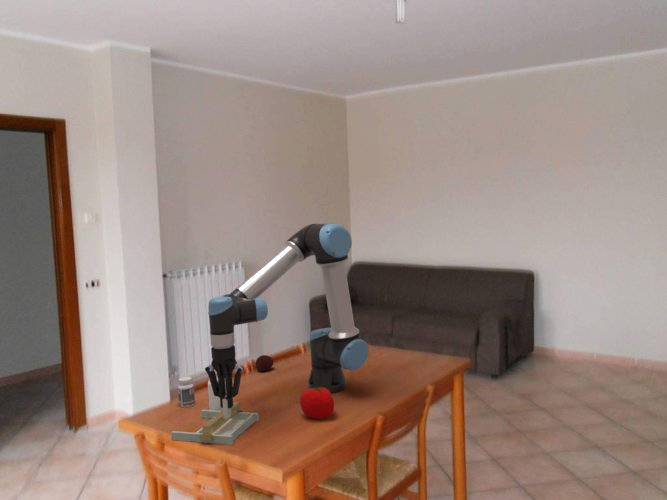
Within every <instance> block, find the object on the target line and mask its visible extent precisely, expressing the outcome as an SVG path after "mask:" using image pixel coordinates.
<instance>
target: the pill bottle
mask: <svg viewBox="0 0 667 500" xmlns="http://www.w3.org/2000/svg"><path fill="white" fill-rule="evenodd" d="M192 379H193V378H192V377H191V376H182V377H179V378H178V383H179V384H178V386H177V394H178V405H179V407H180V408H190V407H192V406H194V405H195V404H196V399H195V385H194V384H193V382H192V381H193V380H192Z"/></svg>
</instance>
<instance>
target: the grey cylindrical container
mask: <svg viewBox="0 0 667 500" xmlns="http://www.w3.org/2000/svg"><path fill="white" fill-rule="evenodd" d="M216 377H217V375H216ZM217 381H218V378H217ZM225 388H226V382H225ZM207 390H208V391H207V393H208V404H209V405H208V408H209V409H208V410H216V411H222V410H223V408H221V406H220V398H219V397H218V396H214V393H213V390H212V386H211V383H210V379H209V378H208V381H207ZM225 397H226V396H225Z"/></svg>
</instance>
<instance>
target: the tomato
mask: <svg viewBox="0 0 667 500" xmlns="http://www.w3.org/2000/svg"><path fill="white" fill-rule="evenodd" d="M299 405H300V407H301V411H302V413H303V414H304V416H306V417H308V418H310V419H311V418H312V419H315V420H316V419H318V420H319V419H321V420H323V419H327V418H330V417H331V416H332V415H333V413H334V411H335V401H334V397H333V394H332V393H330V391H329V390H328V389H326V388H320V387H316V388H310V389H308V388H307V389H304V390H303V391H302V393H301V394H300V398H299Z"/></svg>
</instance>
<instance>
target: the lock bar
mask: <svg viewBox="0 0 667 500" xmlns="http://www.w3.org/2000/svg"><path fill="white" fill-rule="evenodd" d="M240 406H241V404H240V402H239V401H233V407H232V408H231V417H230V418H229V419H224V417H223V410H222V411H220V412H219V413H218V414H217V415H215V416H214V417H213V418H209V420H208V421H206V422H205V423H204V424H202V427H203V434H202V433H201V434H200V440H205V441H212V440H213V433H214V432H215V431H216V430H218V429H219V428H220V427H221V426H222V425H224V424H225V423H226V422H227V421H228V420H230V419H231V418H232V417H233V416H234V415H236V414H237V413H238V412H244V409H243V408H241V407H240Z"/></svg>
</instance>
